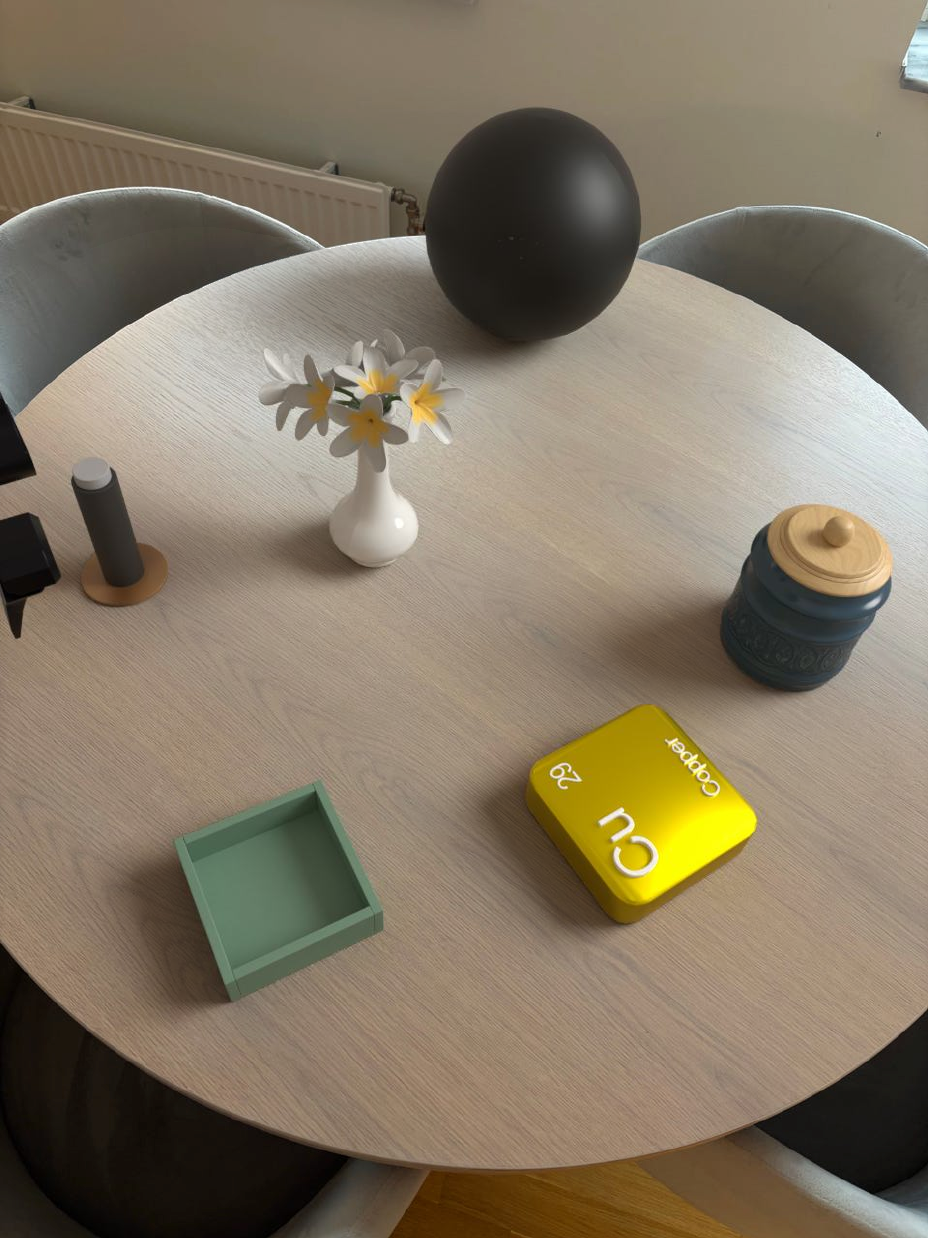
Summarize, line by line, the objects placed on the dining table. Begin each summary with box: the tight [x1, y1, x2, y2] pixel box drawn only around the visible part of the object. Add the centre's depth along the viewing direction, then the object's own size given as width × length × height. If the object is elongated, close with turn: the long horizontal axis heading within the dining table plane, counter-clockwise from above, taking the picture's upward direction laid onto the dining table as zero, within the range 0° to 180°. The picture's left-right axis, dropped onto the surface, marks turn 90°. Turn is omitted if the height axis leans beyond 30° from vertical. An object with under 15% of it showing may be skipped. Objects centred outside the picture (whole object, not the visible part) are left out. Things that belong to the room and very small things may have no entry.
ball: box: [424, 106, 642, 342], centre depth 119 cm, size 27×27×27 cm
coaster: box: [80, 542, 169, 608], centre depth 97 cm, size 8×8×1 cm
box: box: [172, 779, 384, 1003], centre depth 76 cm, size 13×13×4 cm
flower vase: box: [258, 328, 467, 569], centre depth 92 cm, size 13×18×25 cm
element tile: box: [524, 703, 758, 925], centre depth 82 cm, size 15×15×5 cm
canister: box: [719, 503, 894, 692], centre depth 90 cm, size 13×13×18 cm
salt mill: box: [70, 456, 145, 587], centre depth 91 cm, size 4×4×14 cm
